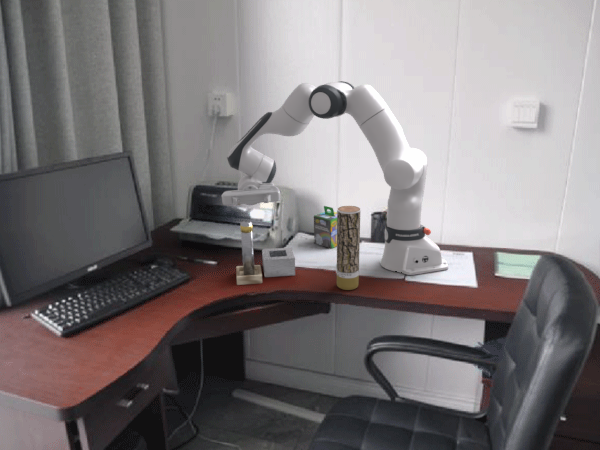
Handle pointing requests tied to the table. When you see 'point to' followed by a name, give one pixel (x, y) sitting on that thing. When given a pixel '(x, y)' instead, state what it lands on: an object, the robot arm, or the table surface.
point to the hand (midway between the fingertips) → (252, 201)
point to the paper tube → (348, 247)
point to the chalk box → (326, 228)
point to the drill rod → (247, 247)
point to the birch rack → (249, 276)
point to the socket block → (278, 262)
